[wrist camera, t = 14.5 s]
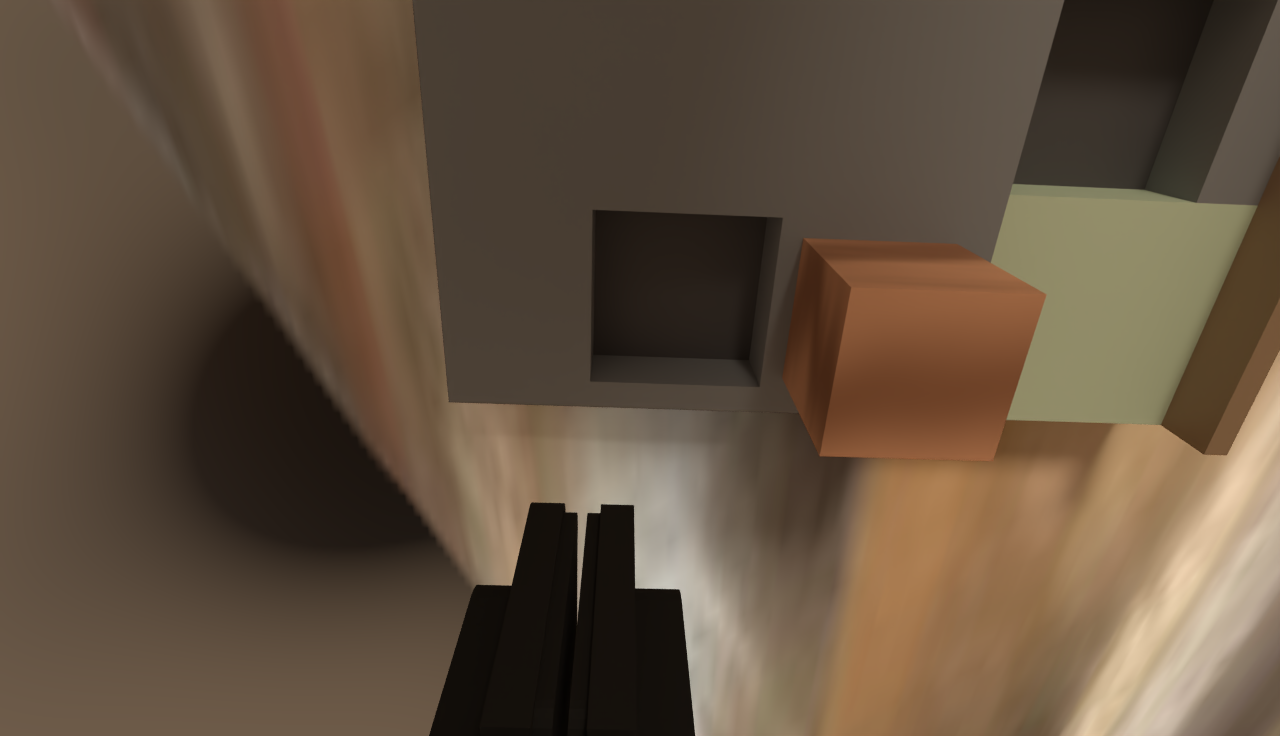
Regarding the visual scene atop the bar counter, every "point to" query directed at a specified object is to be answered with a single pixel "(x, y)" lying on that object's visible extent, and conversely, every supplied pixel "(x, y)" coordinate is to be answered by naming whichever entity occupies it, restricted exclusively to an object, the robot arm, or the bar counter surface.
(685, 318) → the deck
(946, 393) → the block
